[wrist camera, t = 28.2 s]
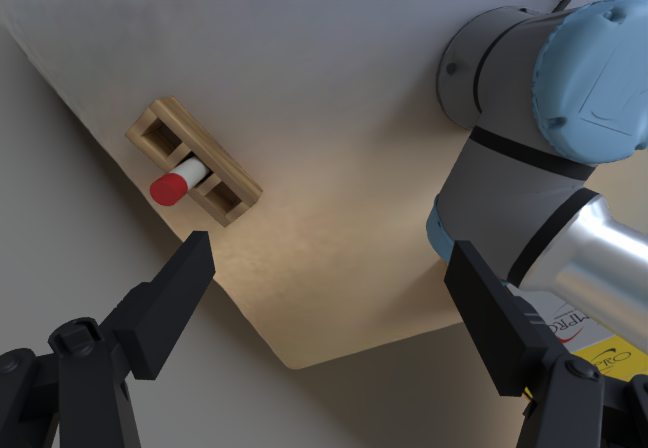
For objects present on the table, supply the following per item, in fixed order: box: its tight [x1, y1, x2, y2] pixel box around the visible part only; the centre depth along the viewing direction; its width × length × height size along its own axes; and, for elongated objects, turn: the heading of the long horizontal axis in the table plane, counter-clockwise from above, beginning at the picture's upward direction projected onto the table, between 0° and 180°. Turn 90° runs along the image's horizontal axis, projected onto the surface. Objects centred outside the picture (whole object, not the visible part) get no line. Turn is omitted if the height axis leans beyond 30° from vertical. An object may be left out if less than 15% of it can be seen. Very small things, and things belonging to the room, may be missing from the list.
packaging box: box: [445, 262, 648, 402], centre depth 47 cm, size 16×16×25 cm
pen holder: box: [125, 96, 263, 227], centre depth 48 cm, size 8×20×5 cm, turn 39°
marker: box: [150, 154, 211, 206], centre depth 44 cm, size 4×4×14 cm
